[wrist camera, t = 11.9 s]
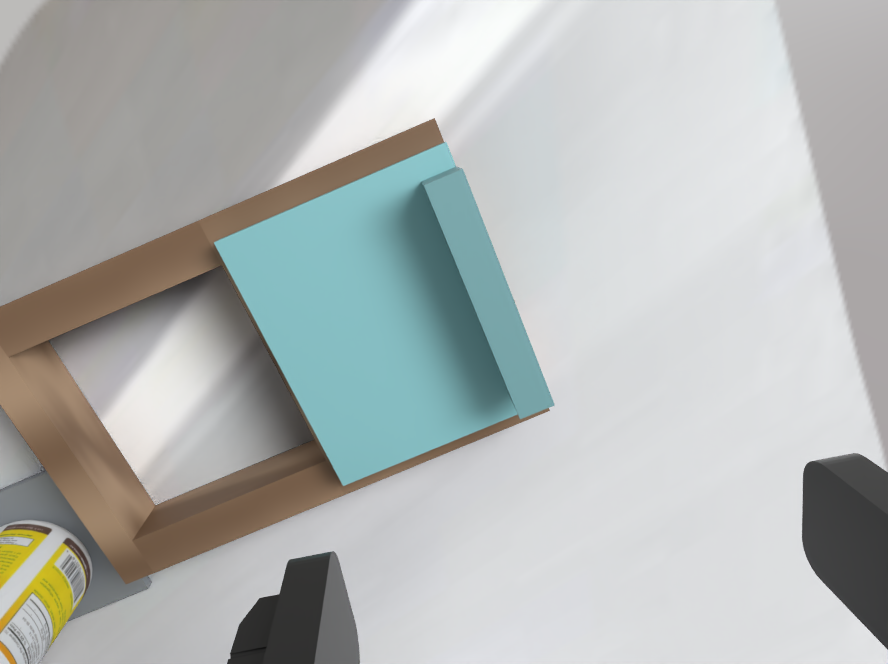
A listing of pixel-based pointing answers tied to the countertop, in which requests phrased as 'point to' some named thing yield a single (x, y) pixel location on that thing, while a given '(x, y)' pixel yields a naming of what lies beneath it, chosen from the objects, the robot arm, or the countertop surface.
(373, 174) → the sliding cover
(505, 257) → the countertop surface
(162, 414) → the countertop surface
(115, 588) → the slate pad
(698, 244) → the countertop surface
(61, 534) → the supplement bottle
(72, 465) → the wooden frame
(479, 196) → the countertop surface
